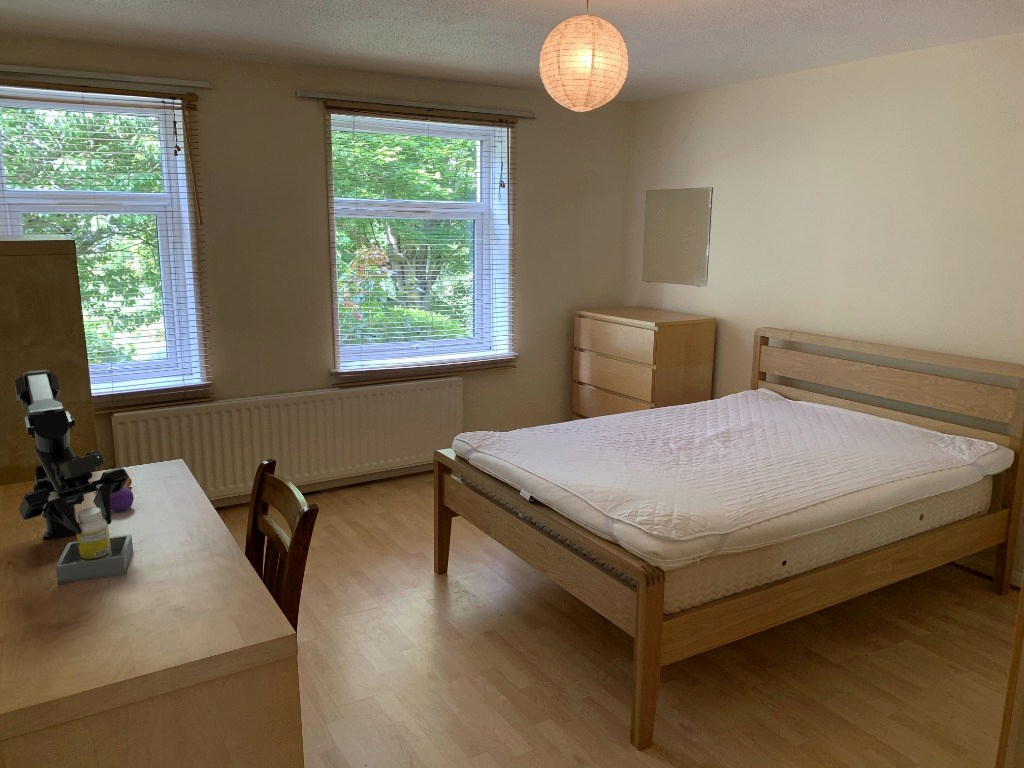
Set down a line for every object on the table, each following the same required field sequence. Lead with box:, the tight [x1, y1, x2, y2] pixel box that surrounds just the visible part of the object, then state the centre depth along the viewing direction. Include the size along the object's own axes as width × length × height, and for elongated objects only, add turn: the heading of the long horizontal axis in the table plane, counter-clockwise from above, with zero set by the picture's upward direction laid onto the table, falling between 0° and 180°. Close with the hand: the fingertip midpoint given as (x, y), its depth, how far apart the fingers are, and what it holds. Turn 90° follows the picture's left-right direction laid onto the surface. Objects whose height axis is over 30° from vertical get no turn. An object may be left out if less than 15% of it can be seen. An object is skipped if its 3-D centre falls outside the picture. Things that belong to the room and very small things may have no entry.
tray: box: [55, 533, 134, 585], centre depth 148 cm, size 11×11×4 cm
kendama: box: [110, 476, 135, 513], centre depth 182 cm, size 6×6×20 cm
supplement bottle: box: [76, 506, 112, 562], centre depth 147 cm, size 5×5×10 cm
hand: (95, 528), depth 146 cm, fingers closed on supplement bottle, 5 cm apart
